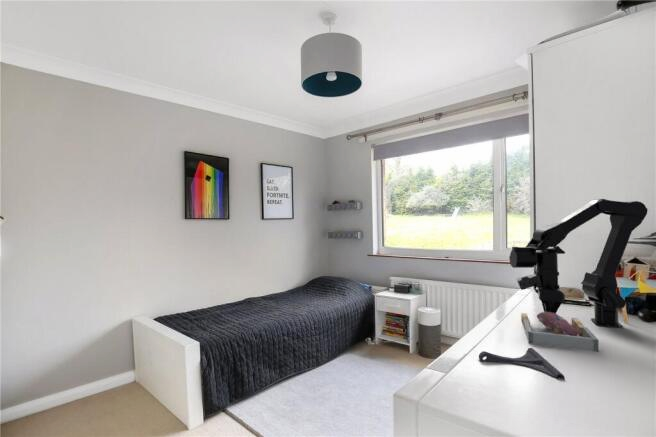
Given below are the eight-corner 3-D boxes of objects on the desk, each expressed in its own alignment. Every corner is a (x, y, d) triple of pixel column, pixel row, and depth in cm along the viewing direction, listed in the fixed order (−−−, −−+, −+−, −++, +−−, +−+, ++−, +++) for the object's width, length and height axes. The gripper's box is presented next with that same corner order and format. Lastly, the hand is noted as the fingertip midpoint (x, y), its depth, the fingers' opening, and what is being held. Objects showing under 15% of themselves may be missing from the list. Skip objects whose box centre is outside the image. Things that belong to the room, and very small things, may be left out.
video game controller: (541, 331, 101) (531, 312, 100) (553, 324, 101) (543, 304, 101) (568, 343, 91) (557, 322, 91) (581, 335, 91) (570, 313, 91)
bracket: (471, 351, 85) (471, 340, 85) (534, 354, 82) (534, 343, 82) (488, 378, 71) (488, 365, 71) (564, 382, 68) (564, 369, 68)
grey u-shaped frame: (524, 330, 98) (524, 320, 98) (587, 337, 91) (586, 327, 91) (528, 343, 88) (528, 331, 88) (598, 351, 81) (598, 339, 82)
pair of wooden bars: (521, 320, 107) (521, 313, 107) (577, 326, 101) (577, 318, 101) (524, 330, 98) (524, 321, 98) (586, 337, 92) (586, 328, 92)
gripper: (516, 262, 117) (517, 306, 117) (520, 270, 100) (521, 321, 100) (553, 264, 112) (554, 309, 112) (564, 272, 95) (565, 326, 95)
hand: (548, 316), depth 105 cm, fingers open, 8 cm apart
